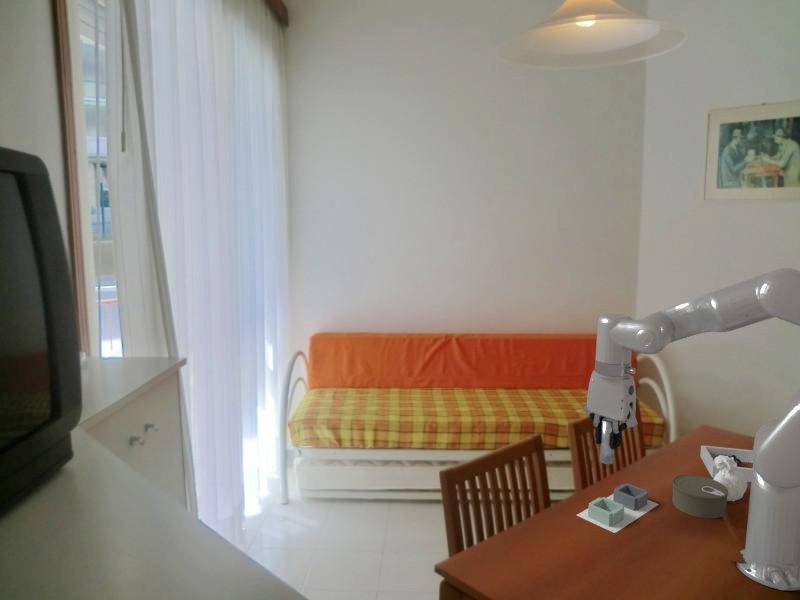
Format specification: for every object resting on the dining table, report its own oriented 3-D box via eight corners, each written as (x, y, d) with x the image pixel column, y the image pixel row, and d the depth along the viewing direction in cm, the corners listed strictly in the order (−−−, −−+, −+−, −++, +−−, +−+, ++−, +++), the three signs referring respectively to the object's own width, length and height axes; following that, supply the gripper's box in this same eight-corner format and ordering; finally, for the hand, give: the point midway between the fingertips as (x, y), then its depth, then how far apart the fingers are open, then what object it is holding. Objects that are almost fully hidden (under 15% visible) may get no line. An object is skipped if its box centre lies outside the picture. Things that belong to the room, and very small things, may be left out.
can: (686, 495, 147) (688, 470, 146) (735, 514, 137) (737, 488, 136) (661, 509, 140) (662, 483, 139) (710, 530, 131) (712, 503, 130)
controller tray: (772, 484, 152) (773, 472, 152) (712, 477, 156) (713, 465, 156) (755, 461, 166) (756, 450, 166) (700, 456, 170) (701, 445, 170)
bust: (739, 497, 150) (716, 456, 155) (764, 490, 144) (739, 447, 149) (712, 509, 144) (689, 466, 149) (737, 502, 138) (712, 457, 143)
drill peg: (613, 464, 130) (616, 423, 128) (600, 463, 131) (602, 422, 129) (612, 459, 133) (615, 418, 131) (599, 457, 134) (601, 417, 132)
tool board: (614, 539, 127) (615, 520, 127) (576, 520, 135) (576, 503, 134) (658, 509, 140) (659, 492, 139) (620, 494, 147) (621, 478, 147)
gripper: (655, 373, 124) (649, 452, 127) (590, 358, 137) (585, 430, 140) (638, 379, 120) (632, 461, 123) (571, 363, 132) (567, 438, 135)
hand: (607, 444), depth 131 cm, fingers closed on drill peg, 3 cm apart
